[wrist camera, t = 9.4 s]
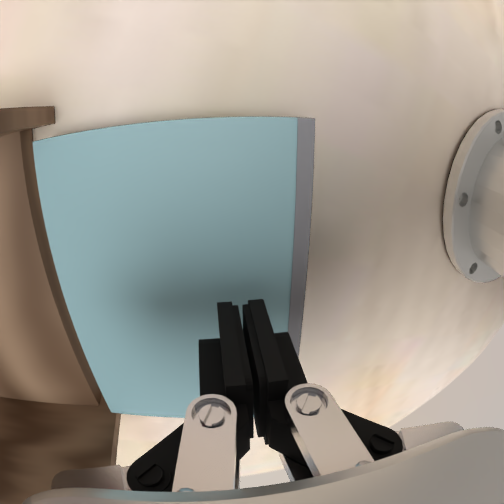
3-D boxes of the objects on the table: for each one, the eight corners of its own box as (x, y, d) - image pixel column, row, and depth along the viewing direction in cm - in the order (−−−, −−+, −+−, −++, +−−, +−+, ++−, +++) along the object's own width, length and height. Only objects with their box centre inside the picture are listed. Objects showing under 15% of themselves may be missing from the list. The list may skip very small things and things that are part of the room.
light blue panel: (45, 138, 10) (307, 118, 11) (115, 399, 17) (288, 400, 17) (31, 142, 10) (315, 118, 10) (111, 412, 16) (290, 414, 16)
